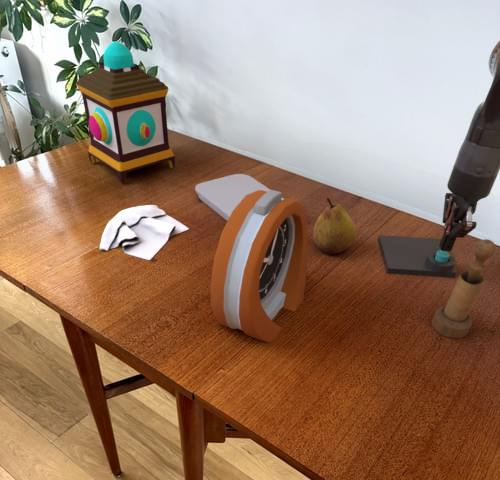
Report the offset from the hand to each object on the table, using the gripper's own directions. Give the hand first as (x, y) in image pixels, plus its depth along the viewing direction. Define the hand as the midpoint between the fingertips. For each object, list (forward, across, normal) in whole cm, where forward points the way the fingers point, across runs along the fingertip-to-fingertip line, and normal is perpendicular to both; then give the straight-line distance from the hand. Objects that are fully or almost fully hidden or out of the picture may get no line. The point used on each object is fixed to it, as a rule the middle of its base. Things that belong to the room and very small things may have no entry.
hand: (444, 249), depth 94 cm
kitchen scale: (+5, +4, +4) cm, 8 cm away
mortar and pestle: (+5, -18, +2) cm, 19 cm away
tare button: (+3, 0, 0) cm, 3 cm away
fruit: (+6, +6, +22) cm, 23 cm away
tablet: (+6, +22, +42) cm, 48 cm away
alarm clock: (+6, -17, +36) cm, 40 cm away
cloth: (+6, +7, +65) cm, 66 cm away
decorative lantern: (+6, +42, +75) cm, 86 cm away
